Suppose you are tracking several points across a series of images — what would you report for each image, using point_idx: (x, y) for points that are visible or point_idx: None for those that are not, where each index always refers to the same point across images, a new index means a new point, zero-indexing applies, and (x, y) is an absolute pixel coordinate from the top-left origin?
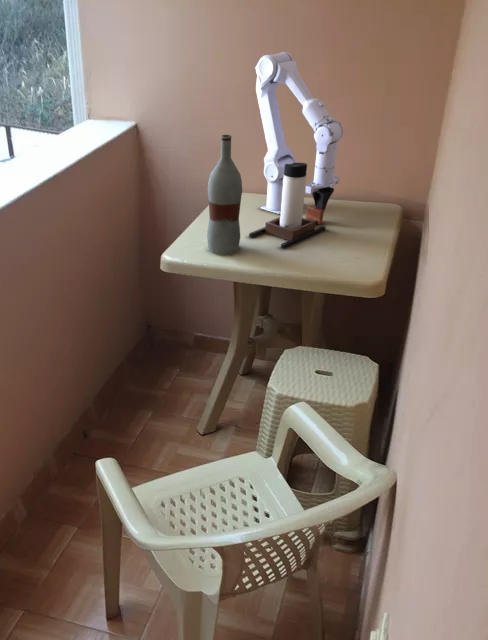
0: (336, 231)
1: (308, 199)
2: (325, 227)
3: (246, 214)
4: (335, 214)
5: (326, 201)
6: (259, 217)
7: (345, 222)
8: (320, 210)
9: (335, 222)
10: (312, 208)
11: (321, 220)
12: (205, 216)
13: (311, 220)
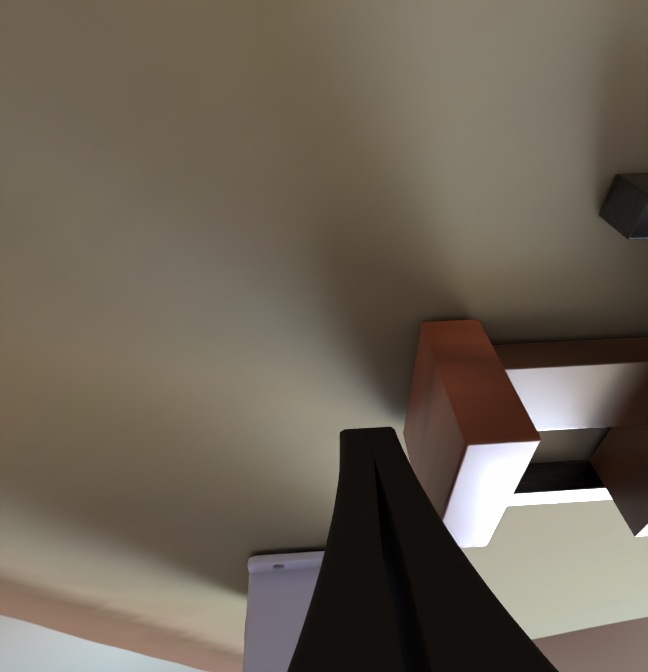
0: (601, 12)
1: (75, 583)
2: (641, 189)
3: (529, 588)
4: (89, 379)
5: (374, 563)
6: (541, 556)
7: (168, 161)
8: (513, 454)
9: (279, 250)
10: (490, 516)
11: (456, 342)
12: (632, 619)
13: (518, 393)
